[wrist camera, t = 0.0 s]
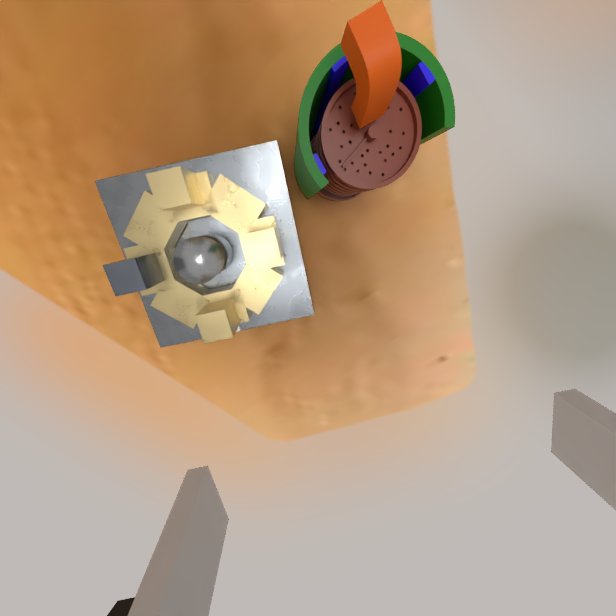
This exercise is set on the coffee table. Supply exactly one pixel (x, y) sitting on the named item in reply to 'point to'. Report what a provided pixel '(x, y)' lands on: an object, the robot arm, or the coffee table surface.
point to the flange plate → (220, 237)
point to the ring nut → (165, 233)
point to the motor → (369, 109)
